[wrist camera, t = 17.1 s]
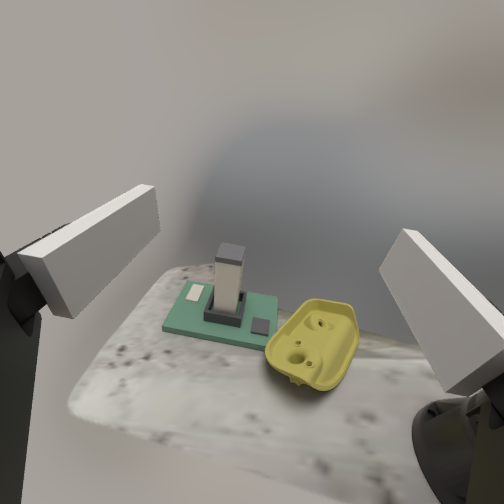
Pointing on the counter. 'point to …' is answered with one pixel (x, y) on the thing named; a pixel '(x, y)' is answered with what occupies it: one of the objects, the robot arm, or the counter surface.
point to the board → (223, 317)
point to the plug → (228, 277)
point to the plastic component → (315, 344)
